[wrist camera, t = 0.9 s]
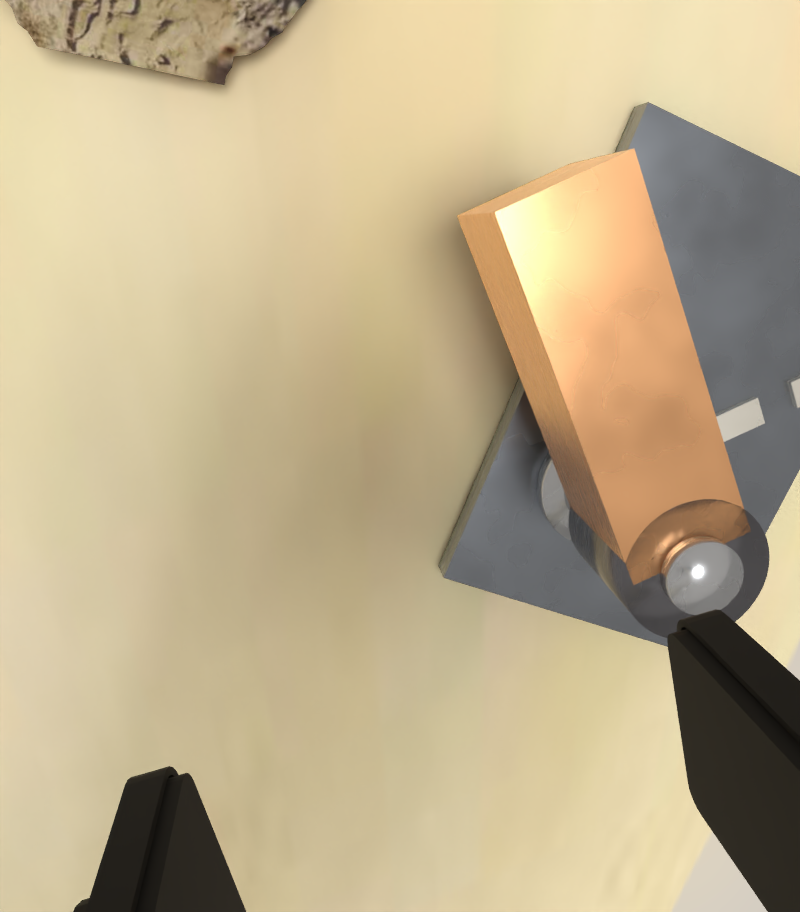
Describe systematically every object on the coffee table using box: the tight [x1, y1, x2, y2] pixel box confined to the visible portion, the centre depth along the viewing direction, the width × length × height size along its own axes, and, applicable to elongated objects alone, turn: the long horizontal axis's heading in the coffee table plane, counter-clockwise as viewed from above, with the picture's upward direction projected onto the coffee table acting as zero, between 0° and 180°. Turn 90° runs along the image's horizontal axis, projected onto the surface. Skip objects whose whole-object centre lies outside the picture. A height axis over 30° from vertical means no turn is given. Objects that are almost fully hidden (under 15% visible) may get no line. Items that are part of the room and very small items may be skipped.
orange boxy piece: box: [457, 148, 769, 638], centre depth 24 cm, size 15×5×6 cm, turn 24°
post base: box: [439, 102, 800, 646], centre depth 30 cm, size 20×13×4 cm
